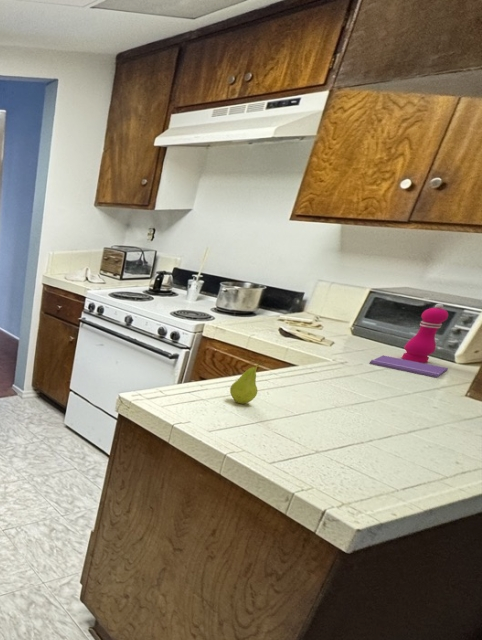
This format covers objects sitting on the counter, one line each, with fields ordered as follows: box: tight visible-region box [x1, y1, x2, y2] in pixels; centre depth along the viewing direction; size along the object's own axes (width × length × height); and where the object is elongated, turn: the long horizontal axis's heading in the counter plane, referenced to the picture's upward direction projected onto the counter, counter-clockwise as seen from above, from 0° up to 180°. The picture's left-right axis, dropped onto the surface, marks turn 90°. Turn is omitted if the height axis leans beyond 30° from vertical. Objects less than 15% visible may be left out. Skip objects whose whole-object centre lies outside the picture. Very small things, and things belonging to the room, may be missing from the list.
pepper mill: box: [401, 303, 449, 364], centre depth 160 cm, size 7×7×20 cm
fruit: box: [229, 361, 264, 405], centre depth 123 cm, size 6×6×12 cm
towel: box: [368, 354, 449, 379], centre depth 156 cm, size 16×14×1 cm
